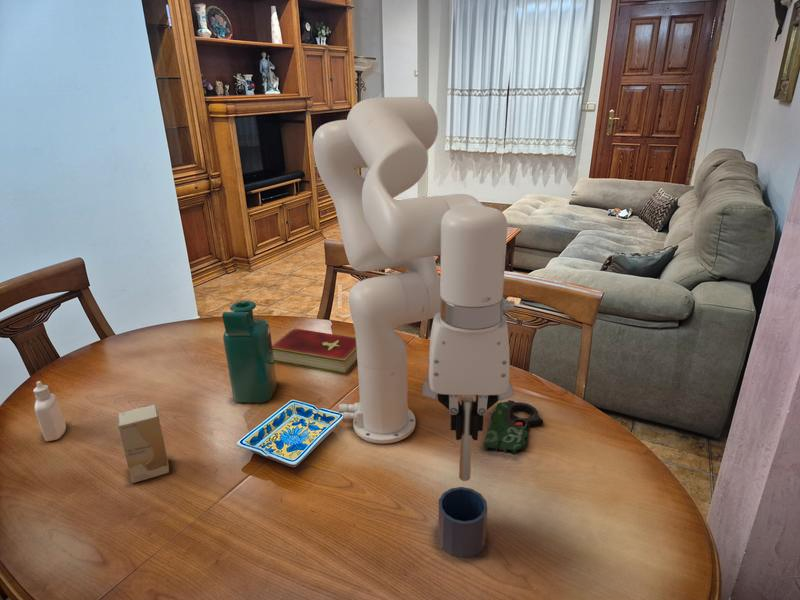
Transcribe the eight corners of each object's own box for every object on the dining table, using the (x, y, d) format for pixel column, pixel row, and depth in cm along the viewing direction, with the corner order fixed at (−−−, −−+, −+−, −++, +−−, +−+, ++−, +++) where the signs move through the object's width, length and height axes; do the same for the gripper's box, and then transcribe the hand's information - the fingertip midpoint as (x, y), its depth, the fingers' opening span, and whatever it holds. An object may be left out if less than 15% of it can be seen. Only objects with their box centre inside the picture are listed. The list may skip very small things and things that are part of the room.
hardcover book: (295, 340, 139) (293, 326, 137) (366, 351, 132) (365, 337, 130) (270, 361, 128) (268, 346, 127) (346, 375, 122) (345, 359, 120)
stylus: (459, 481, 71) (461, 402, 66) (458, 473, 73) (461, 395, 68) (470, 481, 71) (474, 402, 66) (469, 473, 73) (473, 395, 68)
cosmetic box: (131, 484, 89) (115, 426, 84) (131, 469, 93) (115, 413, 88) (171, 472, 92) (158, 415, 87) (169, 458, 95) (156, 402, 91)
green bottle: (243, 382, 119) (229, 295, 111) (279, 383, 119) (268, 295, 110) (228, 407, 110) (212, 314, 102) (267, 407, 110) (254, 314, 101)
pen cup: (438, 559, 74) (439, 523, 71) (437, 520, 81) (438, 486, 78) (487, 561, 74) (489, 524, 71) (482, 522, 80) (484, 487, 77)
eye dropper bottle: (75, 425, 105) (59, 375, 100) (54, 443, 100) (36, 391, 95) (57, 423, 106) (40, 373, 101) (35, 440, 101) (16, 388, 96)
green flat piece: (536, 455, 92) (481, 443, 95) (535, 462, 93) (481, 450, 96) (545, 406, 106) (497, 397, 109) (545, 412, 107) (497, 403, 110)
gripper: (530, 298, 65) (520, 418, 72) (407, 297, 66) (409, 416, 73) (542, 323, 58) (529, 453, 65) (405, 322, 59) (407, 450, 66)
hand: (466, 433), depth 69 cm, fingers closed on stylus, 1 cm apart
